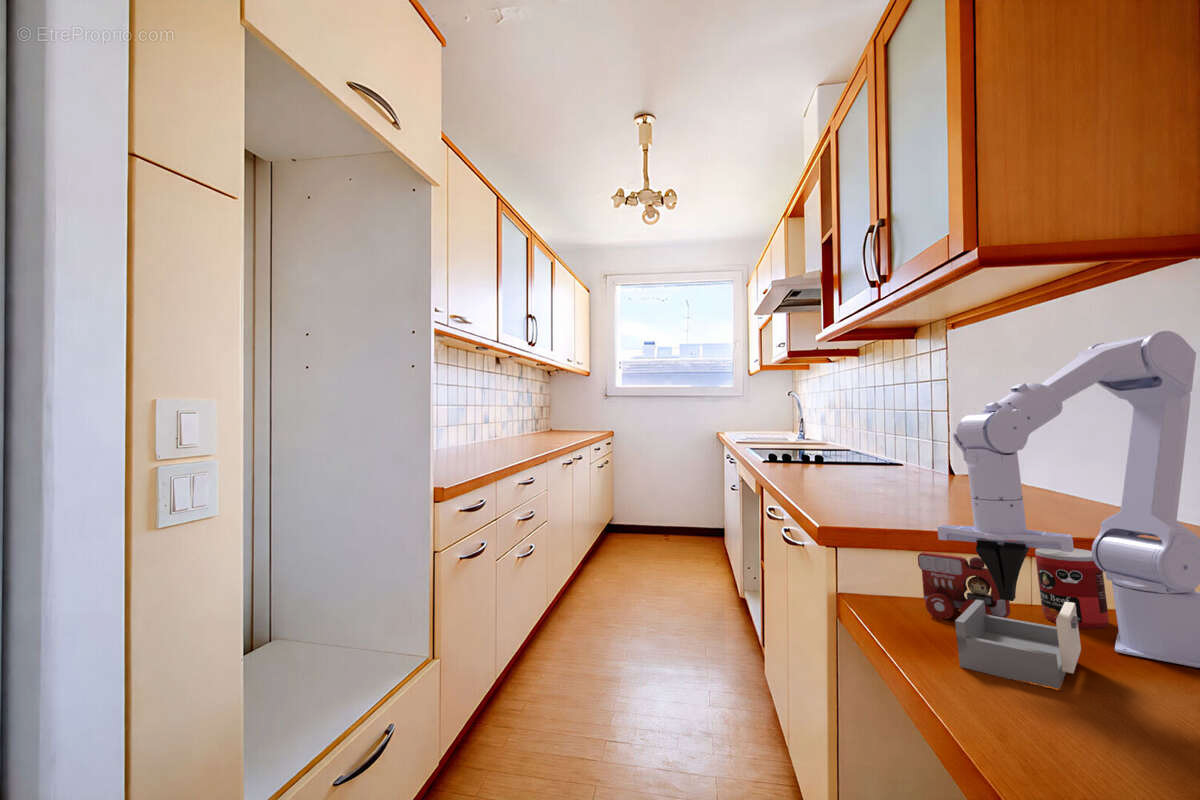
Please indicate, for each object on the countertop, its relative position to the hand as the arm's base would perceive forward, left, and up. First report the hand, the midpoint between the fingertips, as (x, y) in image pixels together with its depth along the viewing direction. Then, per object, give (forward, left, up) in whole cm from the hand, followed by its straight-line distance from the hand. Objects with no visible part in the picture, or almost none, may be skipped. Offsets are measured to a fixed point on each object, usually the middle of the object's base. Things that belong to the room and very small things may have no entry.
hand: (1007, 598), depth 69 cm
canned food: (-4, -25, -9) cm, 26 cm away
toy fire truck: (+9, -16, -9) cm, 20 cm away
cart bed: (0, 0, -9) cm, 9 cm away
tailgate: (-5, 0, -7) cm, 8 cm away
